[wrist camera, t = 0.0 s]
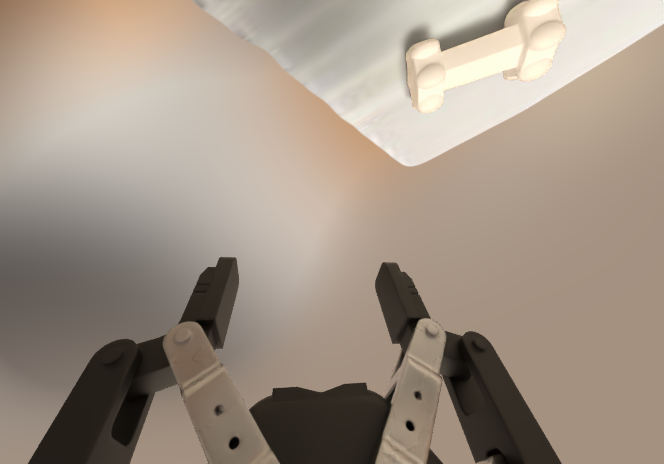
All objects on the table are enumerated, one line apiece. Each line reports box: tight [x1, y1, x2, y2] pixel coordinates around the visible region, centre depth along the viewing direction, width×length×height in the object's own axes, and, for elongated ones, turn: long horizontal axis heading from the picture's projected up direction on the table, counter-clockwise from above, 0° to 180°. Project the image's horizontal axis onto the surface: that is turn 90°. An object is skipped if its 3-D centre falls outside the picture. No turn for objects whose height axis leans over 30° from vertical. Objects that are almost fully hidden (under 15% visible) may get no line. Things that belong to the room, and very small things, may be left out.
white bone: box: [406, 0, 566, 113], centre depth 29 cm, size 15×9×8 cm, turn 109°
